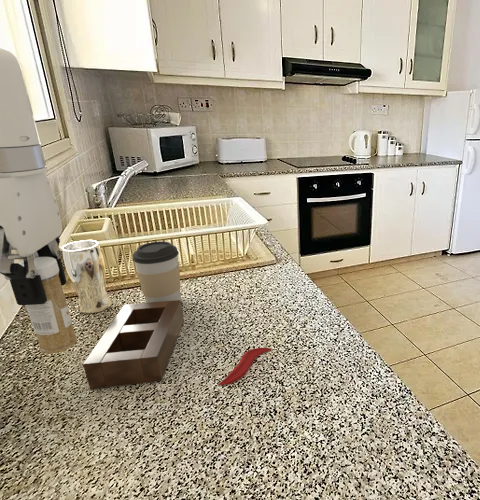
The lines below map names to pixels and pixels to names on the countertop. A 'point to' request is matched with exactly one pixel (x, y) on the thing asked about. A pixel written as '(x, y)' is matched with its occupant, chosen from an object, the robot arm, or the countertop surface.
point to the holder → (135, 345)
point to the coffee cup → (158, 271)
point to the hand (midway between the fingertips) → (43, 292)
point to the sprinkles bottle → (51, 310)
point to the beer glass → (87, 274)
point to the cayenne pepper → (243, 365)
